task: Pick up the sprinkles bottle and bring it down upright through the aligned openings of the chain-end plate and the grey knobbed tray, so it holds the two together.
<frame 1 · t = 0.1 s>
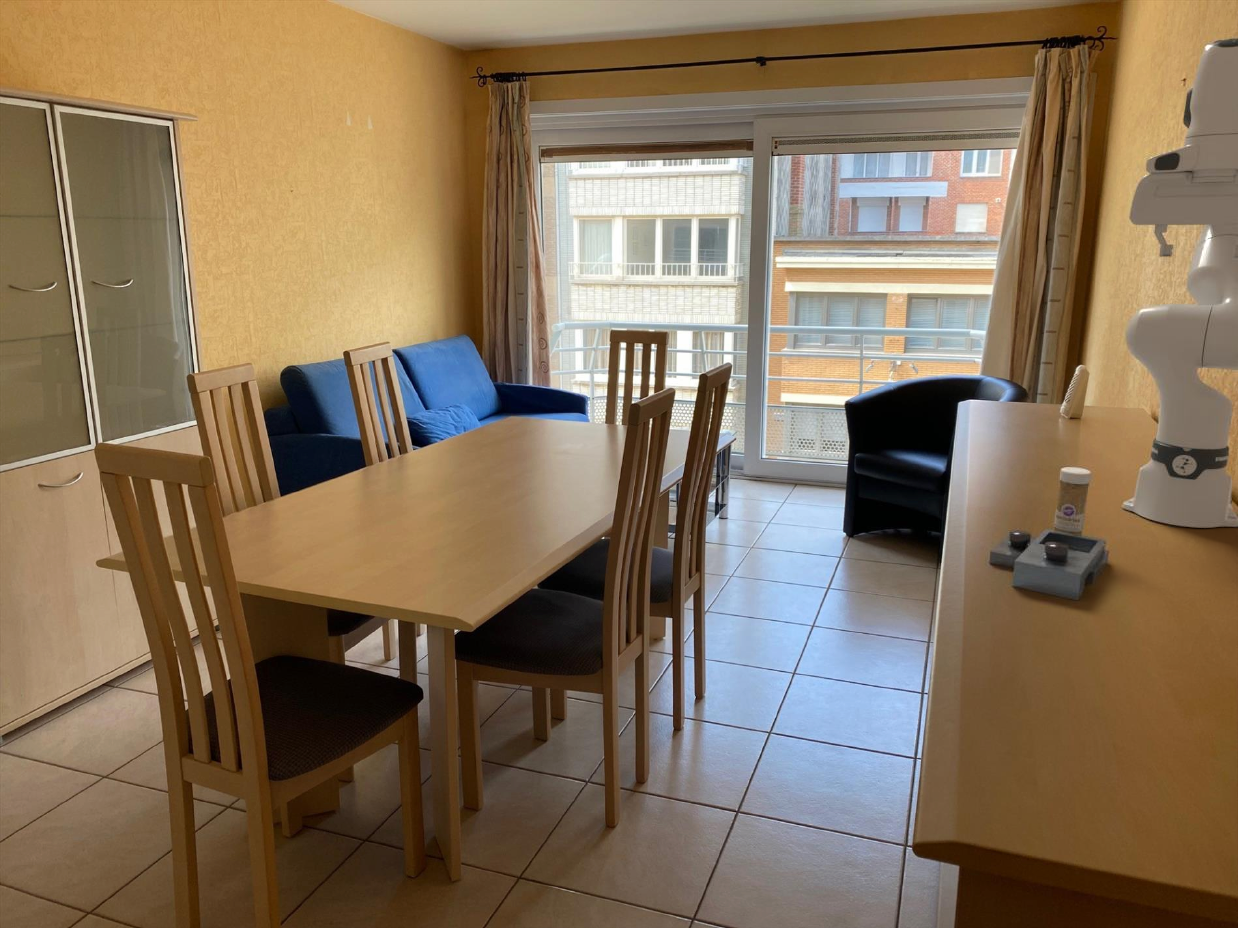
hand: (1202, 257, 134), 48 cm above the sideboard, fingers open, 8 cm apart
chain link upper: (1065, 566, 144), resting in grey knobbed tray
grey knobbed tray: (1065, 566, 144), on the sideboard
sprinkles bottle: (1065, 548, 153), on the sideboard
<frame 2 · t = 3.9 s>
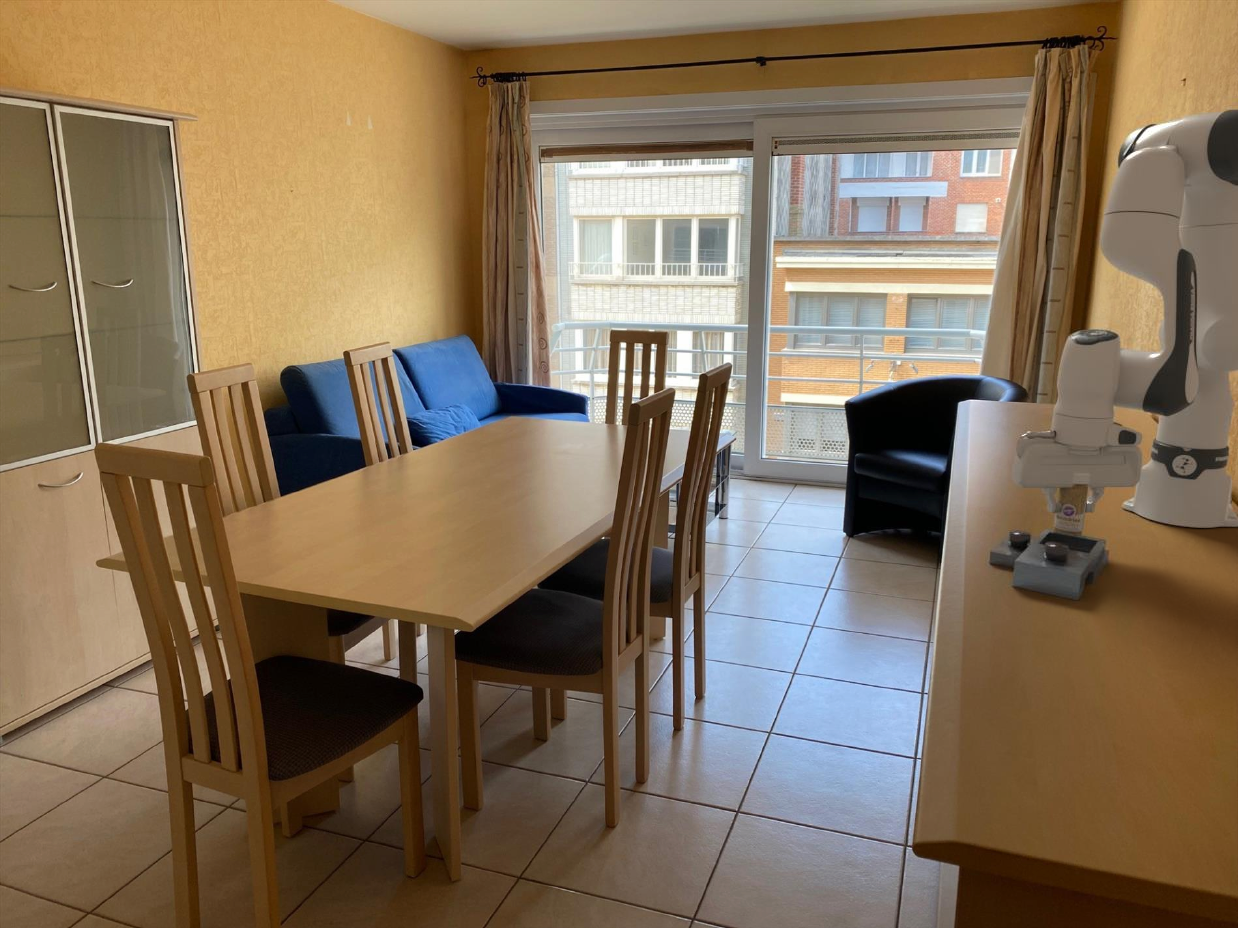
hand: (1070, 512, 151), 6 cm above the sideboard, fingers closed on sprinkles bottle, 4 cm apart
sprinkles bottle: (1065, 548, 153), on the sideboard, touching gripper
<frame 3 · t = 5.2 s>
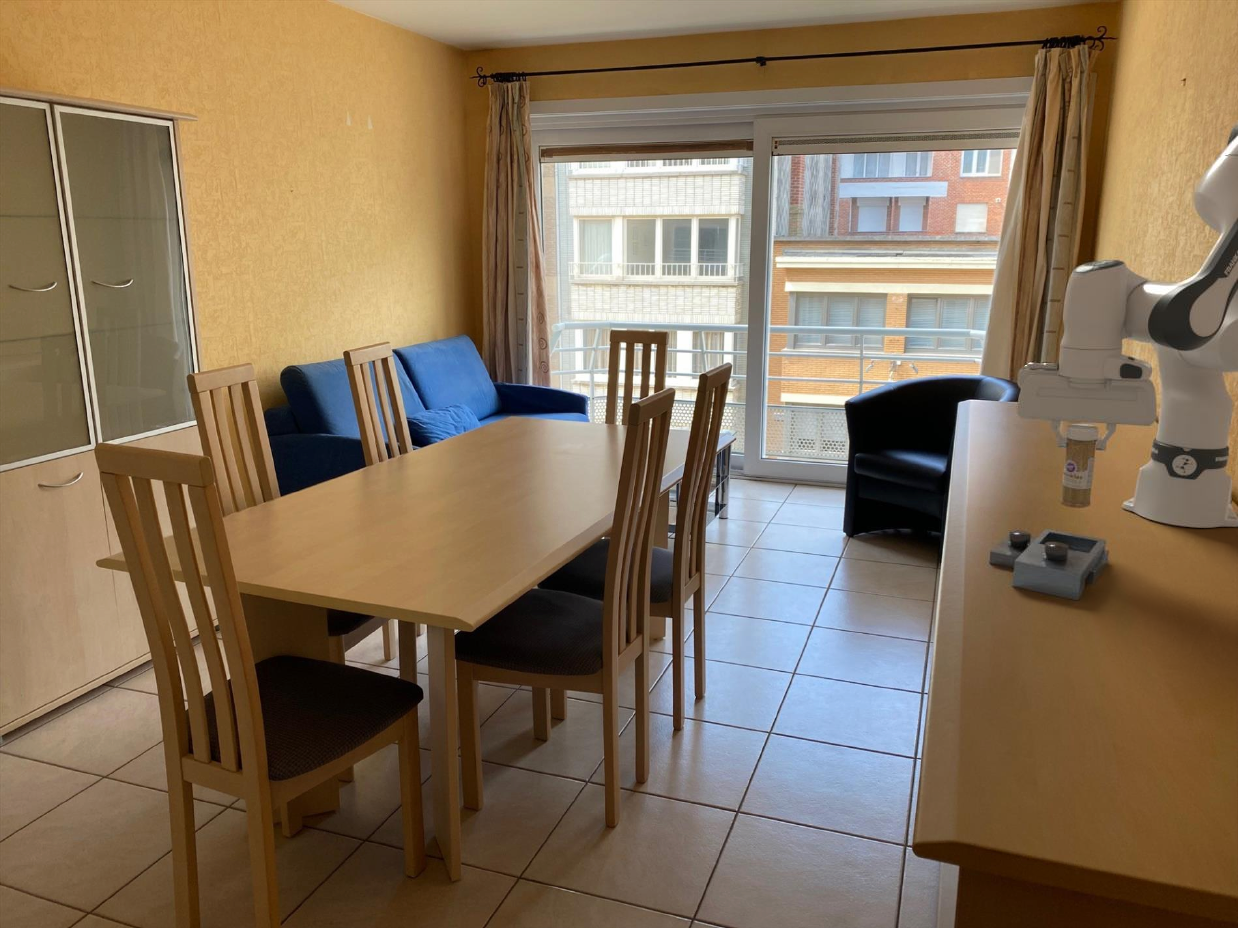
hand: (1081, 448, 149), 17 cm above the sideboard, fingers closed on sprinkles bottle, 4 cm apart
sprinkles bottle: (1075, 505, 151), point 7 cm above the sideboard, touching gripper
when the fingers open (8 cm above the sideboard, at t = 10.3 s): sprinkles bottle stays where it is, resting in grey knobbed tray.
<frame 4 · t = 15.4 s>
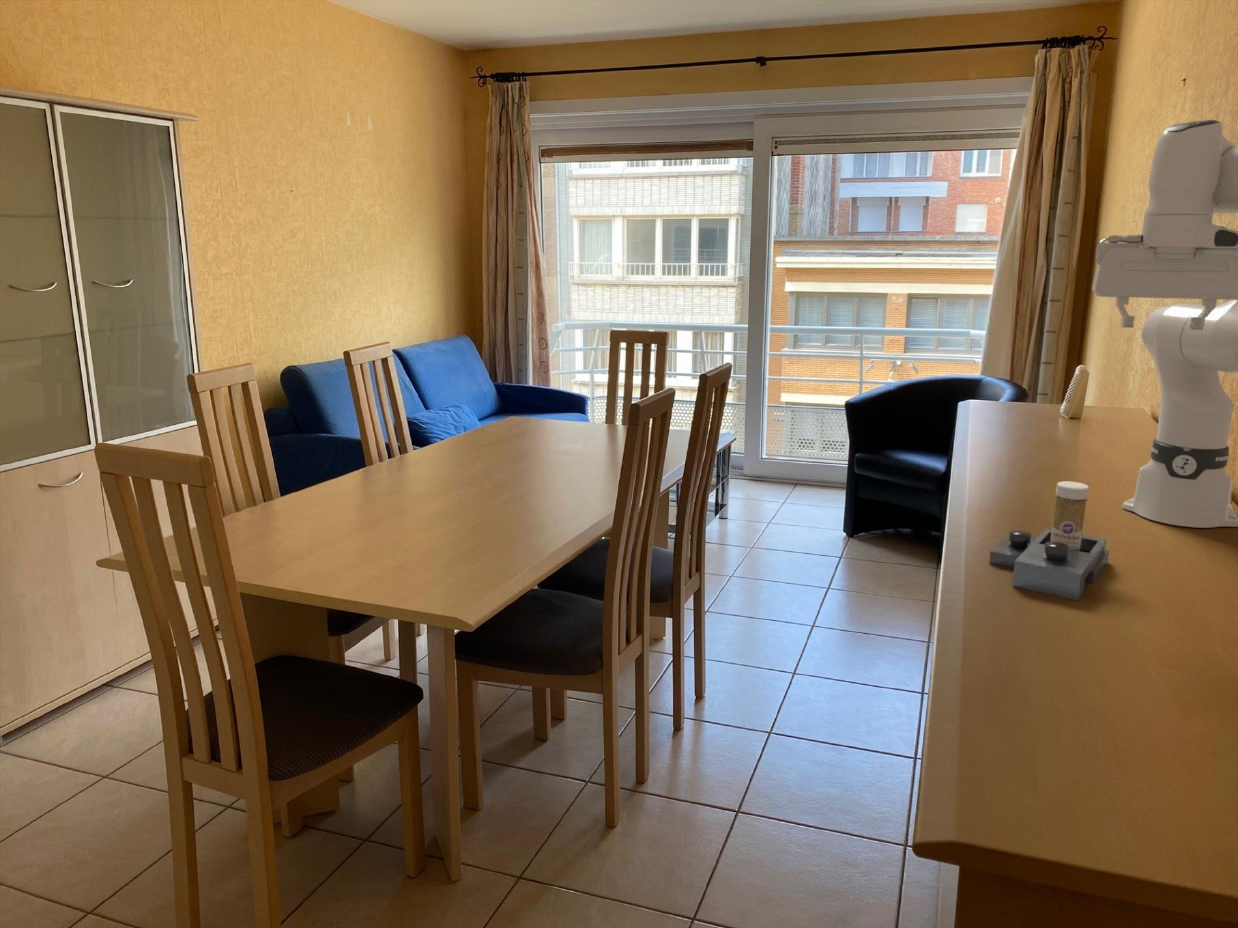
hand: (1161, 328, 139), 37 cm above the sideboard, fingers open, 8 cm apart
sprinkles bottle: (1062, 566, 144), resting in grey knobbed tray
at the end: sprinkles bottle 0.4 cm off-centre on the chain link upper, point 0.0 cm above the chain link upper's base; sprinkles bottle tilted 0°; the gripper is holding nothing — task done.
